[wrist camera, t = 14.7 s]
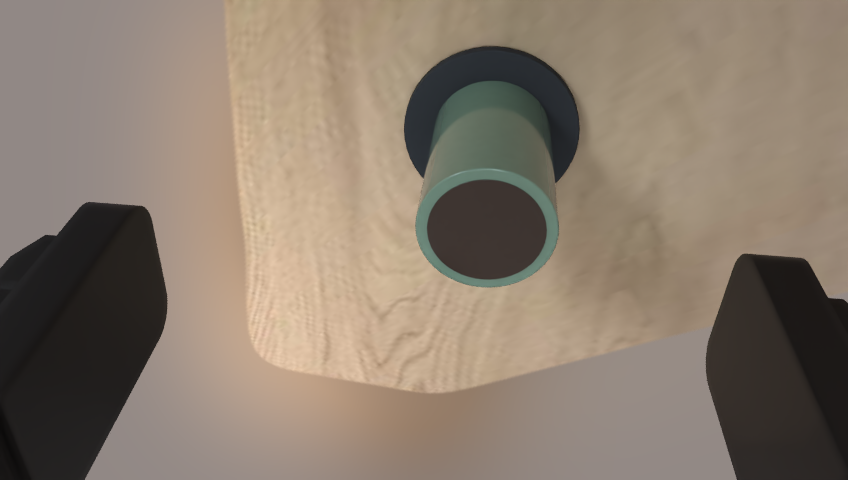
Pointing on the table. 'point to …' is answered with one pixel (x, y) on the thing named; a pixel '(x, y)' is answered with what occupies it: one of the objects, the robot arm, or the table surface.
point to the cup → (489, 187)
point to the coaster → (492, 68)
